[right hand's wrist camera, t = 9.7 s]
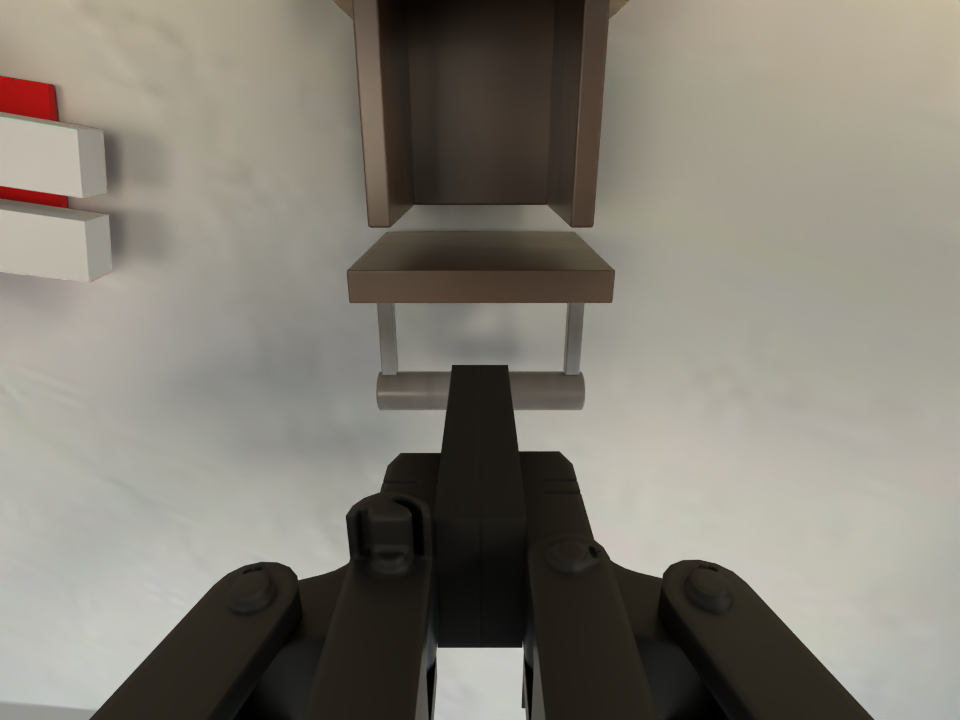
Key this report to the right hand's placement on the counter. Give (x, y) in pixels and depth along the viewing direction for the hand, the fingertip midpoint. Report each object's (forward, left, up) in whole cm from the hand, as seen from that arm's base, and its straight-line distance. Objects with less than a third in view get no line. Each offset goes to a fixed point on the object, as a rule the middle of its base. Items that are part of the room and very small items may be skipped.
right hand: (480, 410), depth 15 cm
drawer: (-3, -6, -14) cm, 16 cm away
